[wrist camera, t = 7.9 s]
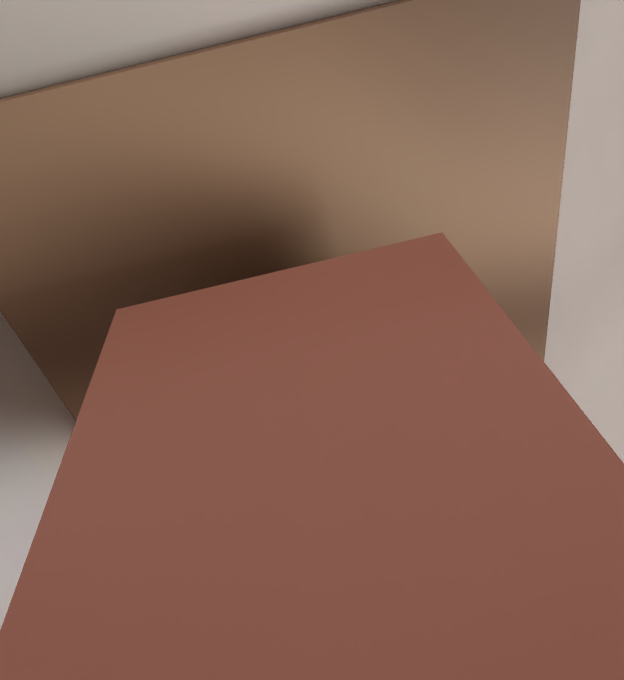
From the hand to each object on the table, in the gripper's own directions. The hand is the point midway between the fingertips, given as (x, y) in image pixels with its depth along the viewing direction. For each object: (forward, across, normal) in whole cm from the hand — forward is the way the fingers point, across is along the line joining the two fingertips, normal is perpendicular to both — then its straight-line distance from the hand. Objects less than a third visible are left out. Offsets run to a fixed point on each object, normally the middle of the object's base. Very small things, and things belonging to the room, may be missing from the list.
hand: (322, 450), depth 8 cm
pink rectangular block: (+1, 0, 0) cm, 1 cm away
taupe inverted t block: (+4, 0, 0) cm, 4 cm away
